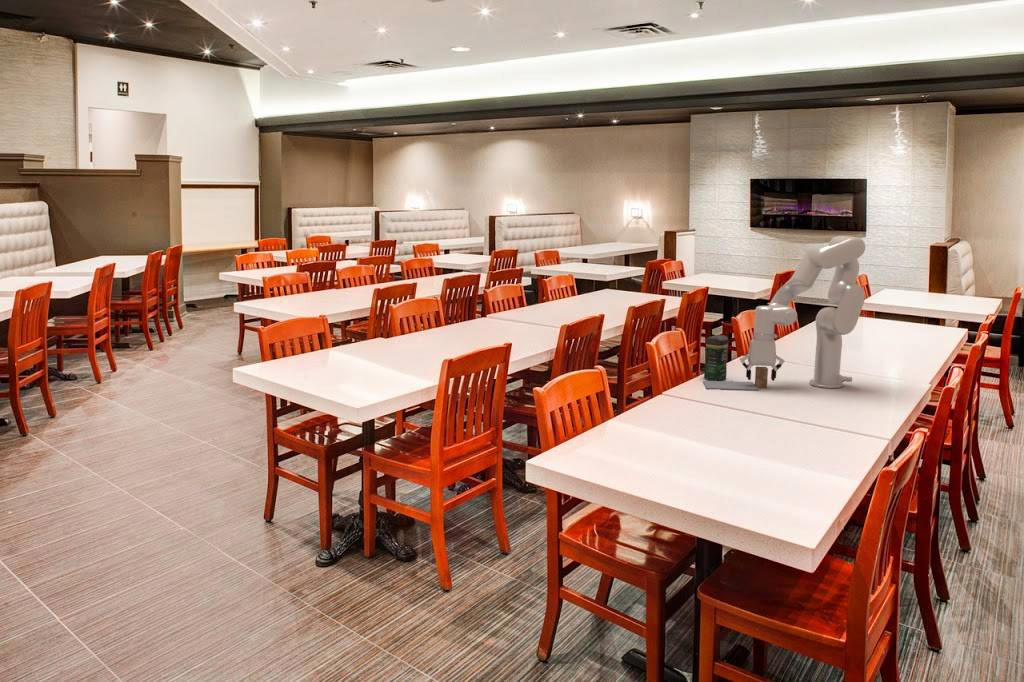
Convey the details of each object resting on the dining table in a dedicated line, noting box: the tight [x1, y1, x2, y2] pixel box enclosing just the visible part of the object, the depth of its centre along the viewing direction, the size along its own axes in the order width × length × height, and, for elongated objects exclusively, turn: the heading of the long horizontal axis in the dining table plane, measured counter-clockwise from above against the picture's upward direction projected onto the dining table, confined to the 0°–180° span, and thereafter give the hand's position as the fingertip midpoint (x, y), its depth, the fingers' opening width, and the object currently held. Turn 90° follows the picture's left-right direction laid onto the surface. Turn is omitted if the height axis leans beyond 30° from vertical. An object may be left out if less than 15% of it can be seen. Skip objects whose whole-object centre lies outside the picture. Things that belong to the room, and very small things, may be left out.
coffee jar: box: [703, 334, 729, 381], centre depth 315 cm, size 10×8×19 cm
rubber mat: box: [702, 380, 760, 392], centre depth 304 cm, size 20×13×1 cm, turn 83°
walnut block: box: [754, 366, 769, 389], centre depth 302 cm, size 4×4×8 cm
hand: (760, 379), depth 302 cm, fingers open, 8 cm apart
